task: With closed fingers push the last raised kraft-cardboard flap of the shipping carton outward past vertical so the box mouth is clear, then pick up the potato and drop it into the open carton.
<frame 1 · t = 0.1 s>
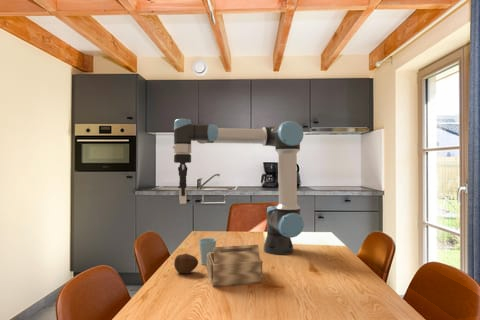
hand: (182, 201, 138), 28 cm above the table, fingers open, 13 cm apart
flap: (236, 254, 116), point 11 cm above the table, hinge at 30.0°
carton: (233, 277, 123), on the table
cup: (207, 263, 141), on the table
potato: (186, 273, 128), on the table
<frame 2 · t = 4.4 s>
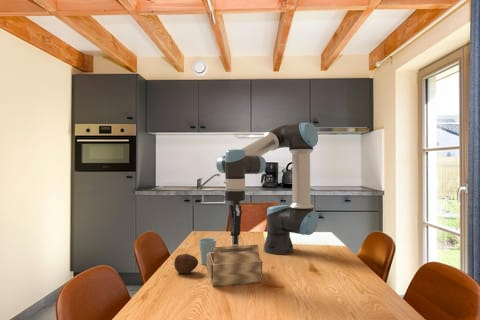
hand: (234, 252, 118), 11 cm above the table, fingers closed
flap: (236, 254, 116), point 11 cm above the table, hinge at 29.6°, touching gripper
everything else where it was.
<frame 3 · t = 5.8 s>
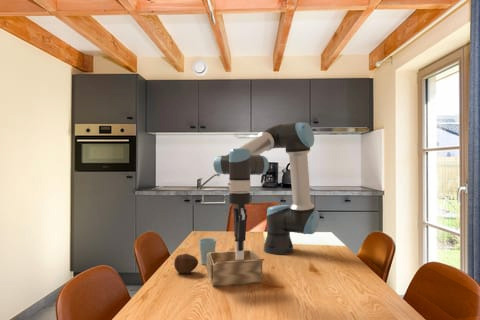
hand: (239, 259, 110), 11 cm above the table, fingers closed
flap: (239, 261, 112), point 10 cm above the table, hinge at -67.4°
everything else where it was.
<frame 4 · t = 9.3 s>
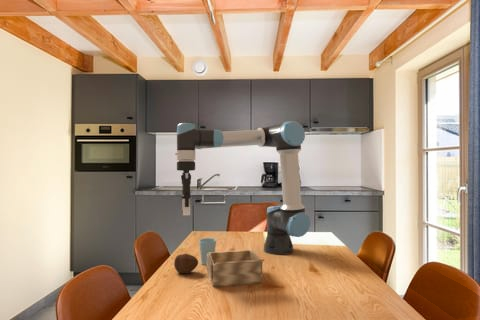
hand: (186, 212, 128), 25 cm above the table, fingers open, 13 cm apart
flap: (239, 262, 112), point 9 cm above the table, hinge at -69.1°
everything else where it was.
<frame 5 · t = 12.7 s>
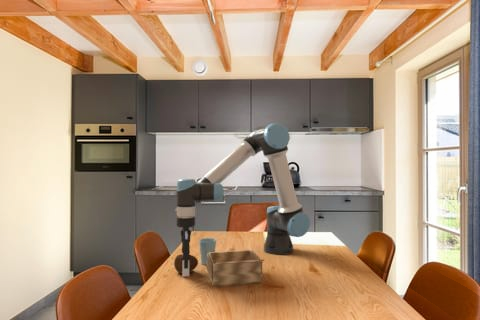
hand: (185, 272, 128), 0 cm above the table, fingers closed on potato, 8 cm apart
potato: (186, 273, 128), on the table, touching gripper
everything else where it was.
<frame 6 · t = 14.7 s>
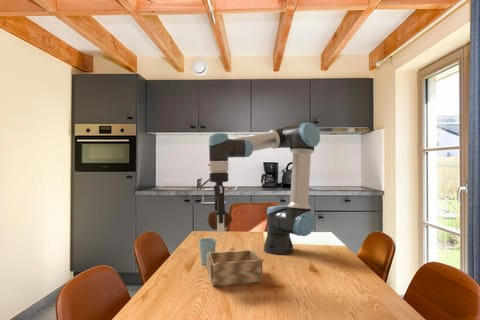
hand: (219, 229, 125), 19 cm above the table, fingers closed on potato, 7 cm apart
potato: (220, 230, 125), point 18 cm above the table, touching gripper
everything else where it was.
when the fingers open (8 cm above the table, at t = 16.7 s): potato drops 7 cm, resting on carton.
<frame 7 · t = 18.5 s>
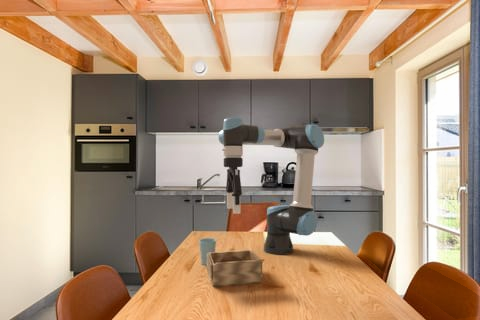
hand: (233, 210, 123), 26 cm above the table, fingers open, 13 cm apart
potato: (232, 275, 123), resting on carton
everything else where it was.
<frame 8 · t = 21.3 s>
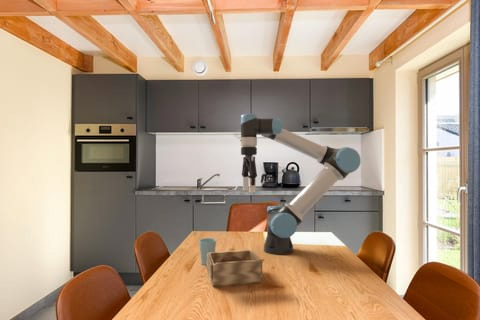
hand: (248, 191, 148), 32 cm above the table, fingers open, 13 cm apart
nothing on the table moved.
at the end: flap at -69° (first picture: +30°); potato inside the target area on the carton (0.8 cm from its centre), point 0.4 cm above the carton's base; the gripper is holding nothing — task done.
